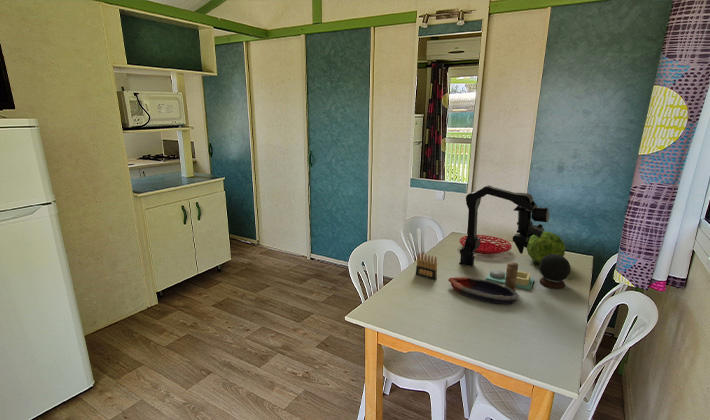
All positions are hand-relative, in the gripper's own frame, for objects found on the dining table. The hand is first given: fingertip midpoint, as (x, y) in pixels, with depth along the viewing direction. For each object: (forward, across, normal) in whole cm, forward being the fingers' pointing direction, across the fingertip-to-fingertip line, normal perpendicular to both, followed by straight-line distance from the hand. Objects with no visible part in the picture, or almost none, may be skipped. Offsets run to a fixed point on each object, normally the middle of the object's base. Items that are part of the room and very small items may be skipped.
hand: (523, 250), depth 183 cm
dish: (+13, -31, +11) cm, 35 cm away
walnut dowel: (+14, -18, +2) cm, 23 cm away
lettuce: (+16, +28, -4) cm, 33 cm away
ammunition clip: (+10, -29, +39) cm, 49 cm away
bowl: (+14, +26, +27) cm, 40 cm away
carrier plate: (+14, -8, +4) cm, 16 cm away
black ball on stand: (+16, +1, -13) cm, 20 cm away
